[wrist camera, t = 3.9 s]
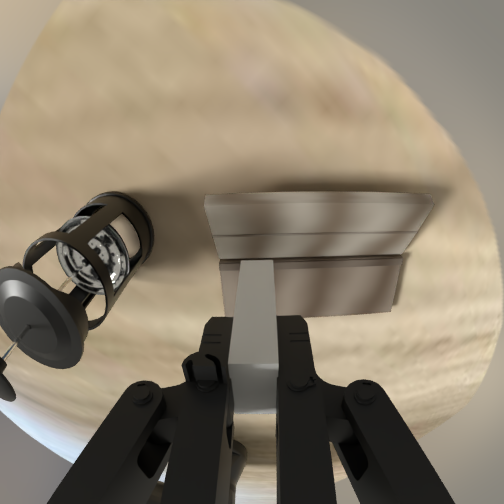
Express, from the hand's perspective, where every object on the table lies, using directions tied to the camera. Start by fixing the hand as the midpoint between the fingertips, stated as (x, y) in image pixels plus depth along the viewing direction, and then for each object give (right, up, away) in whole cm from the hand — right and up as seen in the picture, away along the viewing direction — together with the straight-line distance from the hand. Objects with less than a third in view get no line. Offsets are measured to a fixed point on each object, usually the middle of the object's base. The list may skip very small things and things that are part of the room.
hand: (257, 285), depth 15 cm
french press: (-16, +4, +18) cm, 24 cm away
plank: (+6, +4, +14) cm, 16 cm away
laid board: (+7, -2, +20) cm, 21 cm away
